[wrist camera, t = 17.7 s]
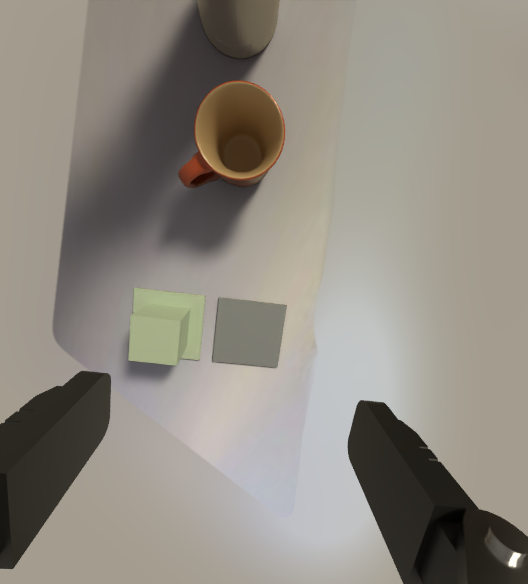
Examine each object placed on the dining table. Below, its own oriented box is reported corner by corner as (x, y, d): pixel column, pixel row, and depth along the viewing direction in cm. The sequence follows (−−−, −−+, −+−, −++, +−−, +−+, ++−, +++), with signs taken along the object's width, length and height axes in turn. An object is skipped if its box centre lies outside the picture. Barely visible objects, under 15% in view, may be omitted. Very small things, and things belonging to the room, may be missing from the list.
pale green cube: (148, 303, 39) (130, 315, 34) (190, 308, 40) (180, 321, 34) (145, 342, 41) (128, 360, 35) (186, 346, 41) (176, 365, 35)
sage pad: (134, 287, 39) (133, 288, 39) (205, 295, 40) (205, 296, 40) (132, 352, 41) (131, 353, 41) (199, 359, 42) (199, 360, 42)
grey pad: (219, 297, 40) (218, 297, 40) (286, 305, 41) (286, 305, 41) (212, 360, 42) (212, 361, 42) (276, 366, 43) (277, 367, 43)
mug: (251, 108, 35) (252, 59, 25) (287, 170, 37) (301, 147, 27) (175, 162, 36) (147, 135, 26) (214, 220, 38) (201, 215, 28)
